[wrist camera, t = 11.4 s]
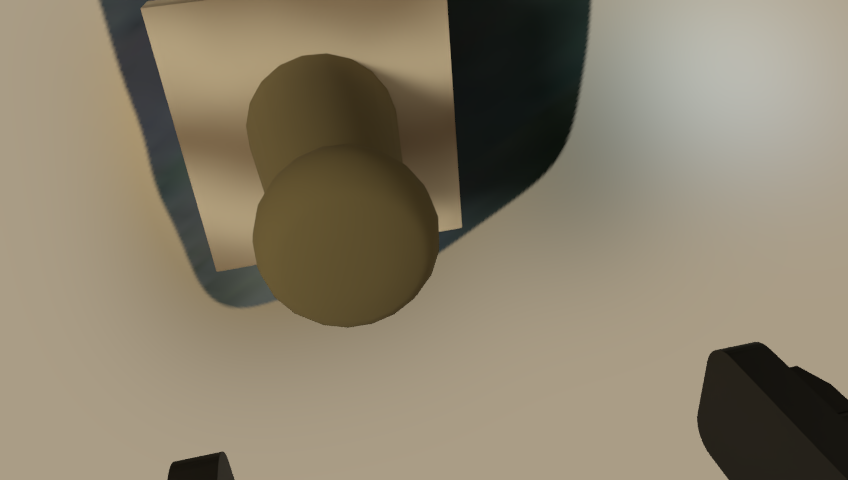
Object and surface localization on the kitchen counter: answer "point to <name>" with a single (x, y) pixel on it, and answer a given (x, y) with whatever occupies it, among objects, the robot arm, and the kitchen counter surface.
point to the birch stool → (277, 44)
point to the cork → (336, 195)
